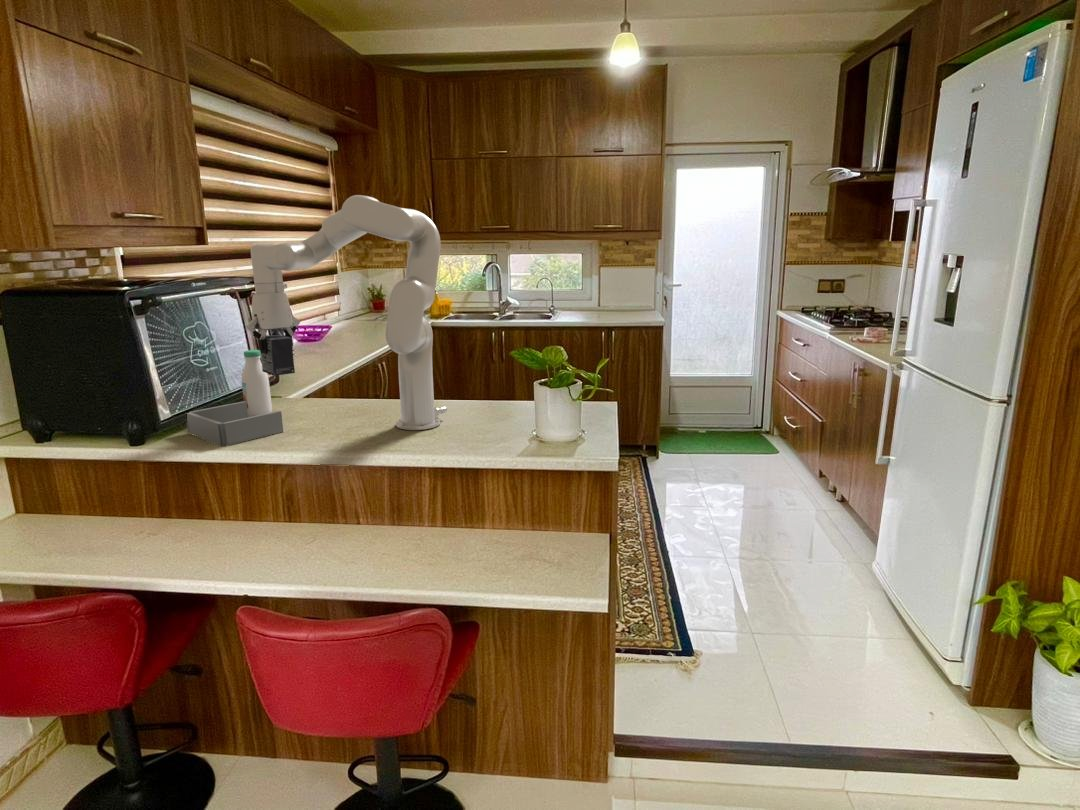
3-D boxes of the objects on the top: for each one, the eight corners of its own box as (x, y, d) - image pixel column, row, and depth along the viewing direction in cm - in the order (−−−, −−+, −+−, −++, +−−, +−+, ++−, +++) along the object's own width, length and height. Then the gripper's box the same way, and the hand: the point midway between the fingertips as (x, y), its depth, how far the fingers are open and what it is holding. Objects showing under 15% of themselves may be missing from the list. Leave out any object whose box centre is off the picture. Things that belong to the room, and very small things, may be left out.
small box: (296, 373, 192) (292, 337, 190) (274, 376, 188) (269, 339, 186) (283, 368, 200) (279, 333, 198) (261, 371, 196) (257, 336, 194)
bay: (246, 420, 200) (244, 401, 198) (283, 432, 187) (281, 411, 186) (187, 433, 187) (184, 412, 185) (222, 446, 174) (220, 424, 173)
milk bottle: (277, 411, 210) (270, 348, 205) (264, 418, 203) (257, 352, 198) (253, 411, 211) (246, 348, 206) (240, 417, 203) (232, 352, 199)
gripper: (290, 286, 198) (296, 346, 202) (233, 290, 185) (241, 354, 189) (304, 287, 193) (310, 348, 197) (246, 291, 180) (254, 356, 184)
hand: (276, 350), depth 193 cm, fingers closed on small box, 7 cm apart
